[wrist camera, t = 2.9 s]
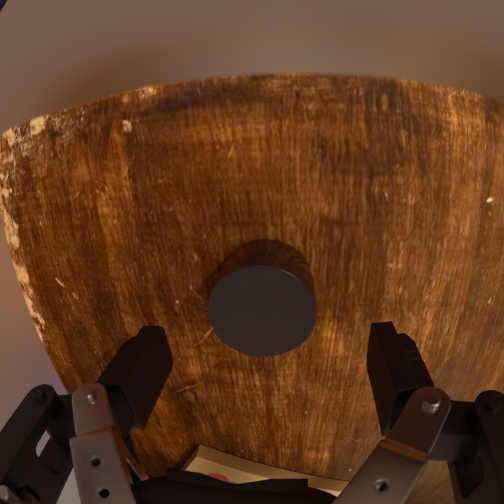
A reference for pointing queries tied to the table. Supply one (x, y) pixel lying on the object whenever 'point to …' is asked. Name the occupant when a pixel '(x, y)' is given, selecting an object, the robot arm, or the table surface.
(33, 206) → the table surface
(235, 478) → the board
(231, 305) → the dark grey puck
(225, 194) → the table surface
